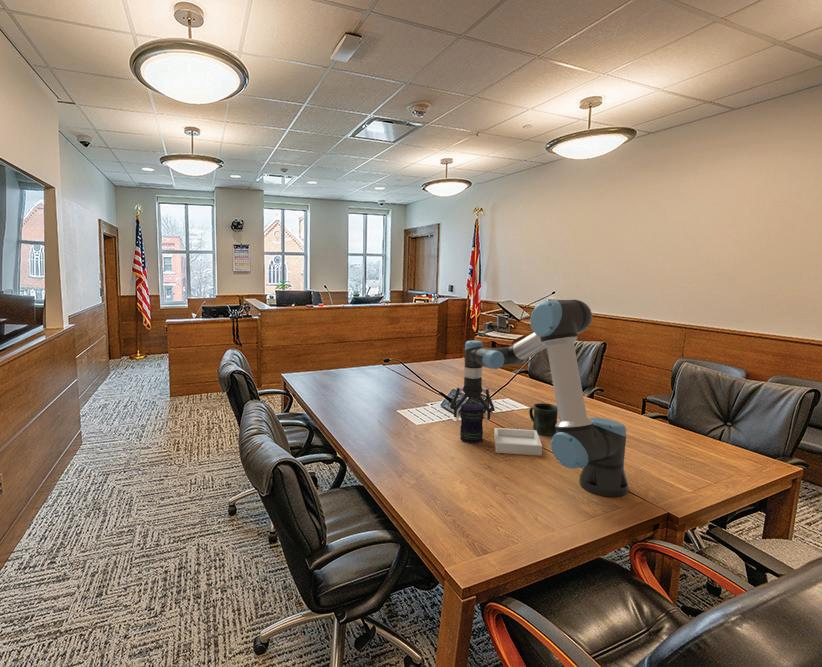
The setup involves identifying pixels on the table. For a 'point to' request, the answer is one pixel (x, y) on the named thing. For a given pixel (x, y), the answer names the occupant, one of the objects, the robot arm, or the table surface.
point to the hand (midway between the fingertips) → (471, 425)
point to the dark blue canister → (471, 422)
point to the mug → (544, 418)
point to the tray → (517, 441)
